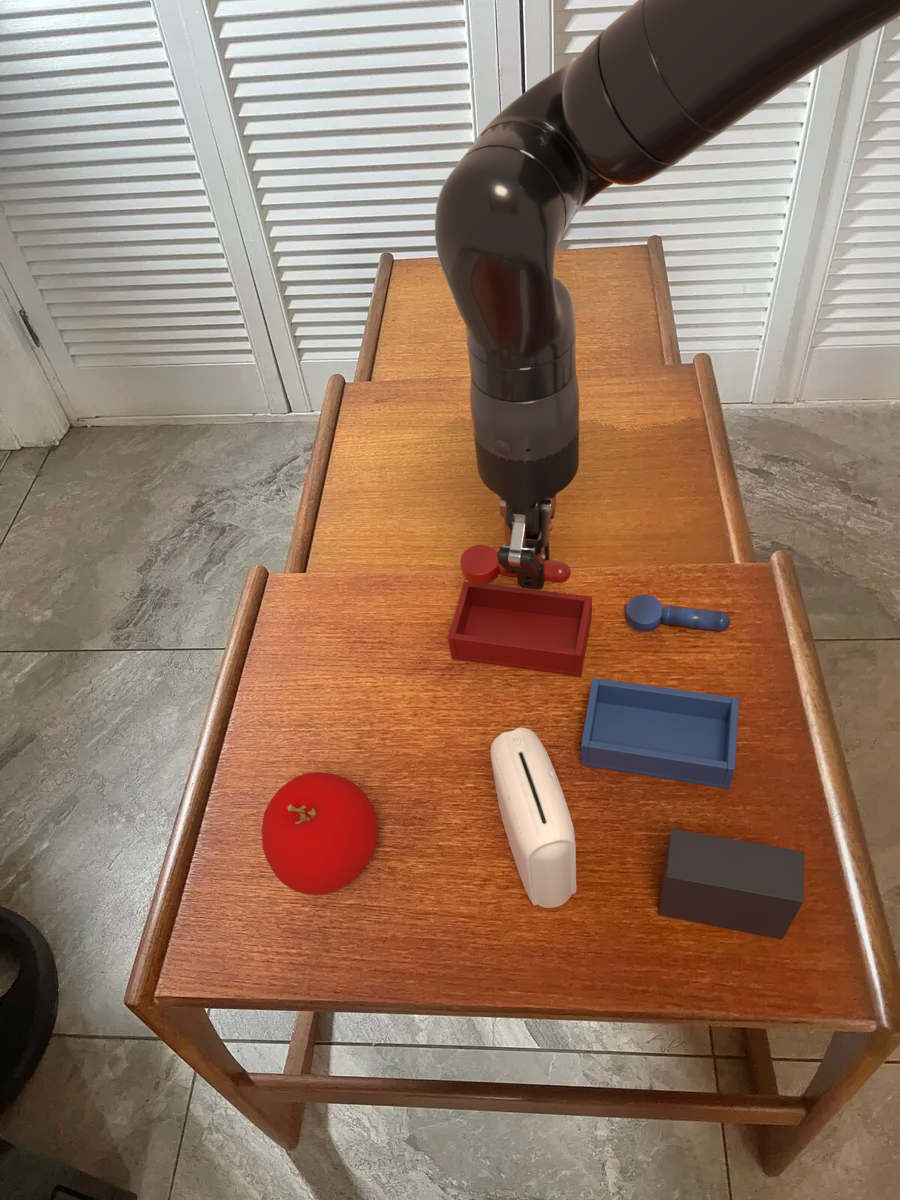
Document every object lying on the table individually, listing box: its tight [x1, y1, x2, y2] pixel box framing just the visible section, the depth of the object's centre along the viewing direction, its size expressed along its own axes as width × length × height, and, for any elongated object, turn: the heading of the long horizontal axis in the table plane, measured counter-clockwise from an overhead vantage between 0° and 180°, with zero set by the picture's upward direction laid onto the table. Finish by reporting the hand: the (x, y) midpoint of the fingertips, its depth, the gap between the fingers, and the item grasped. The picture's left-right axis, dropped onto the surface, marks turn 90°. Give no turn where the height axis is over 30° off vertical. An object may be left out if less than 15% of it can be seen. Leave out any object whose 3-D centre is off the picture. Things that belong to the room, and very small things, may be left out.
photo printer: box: [490, 727, 578, 909], centre depth 68 cm, size 10×4×12 cm, turn 14°
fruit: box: [261, 771, 379, 896], centre depth 71 cm, size 9×9×10 cm
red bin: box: [447, 580, 593, 678], centre depth 84 cm, size 12×7×4 cm, turn 76°
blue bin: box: [580, 677, 740, 790], centre depth 76 cm, size 12×7×4 cm, turn 76°
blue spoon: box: [625, 594, 731, 633], centre depth 84 cm, size 10×3×2 cm, turn 76°
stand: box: [657, 828, 805, 940], centre depth 66 cm, size 9×4×8 cm, turn 76°
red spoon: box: [459, 544, 572, 585], centre depth 77 cm, size 10×3×2 cm, turn 76°
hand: (533, 573), depth 77 cm, fingers closed on red spoon, 1 cm apart
